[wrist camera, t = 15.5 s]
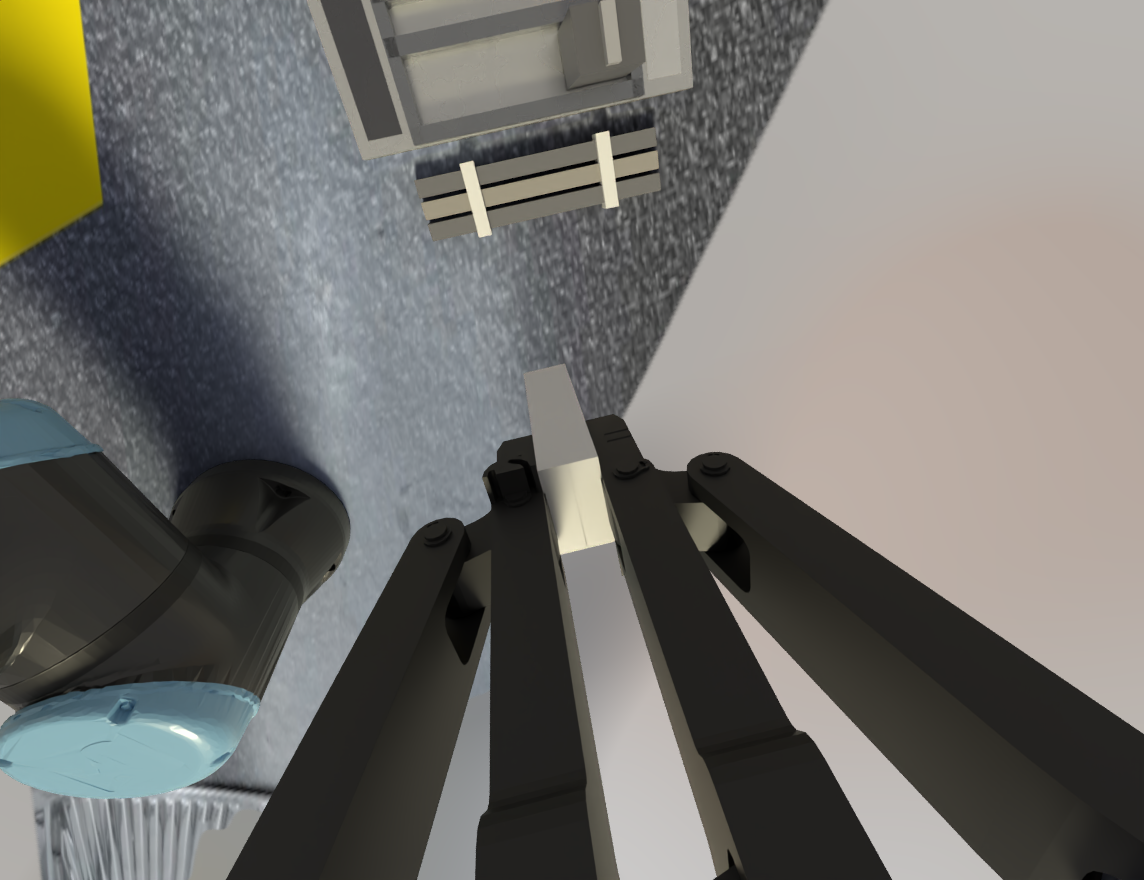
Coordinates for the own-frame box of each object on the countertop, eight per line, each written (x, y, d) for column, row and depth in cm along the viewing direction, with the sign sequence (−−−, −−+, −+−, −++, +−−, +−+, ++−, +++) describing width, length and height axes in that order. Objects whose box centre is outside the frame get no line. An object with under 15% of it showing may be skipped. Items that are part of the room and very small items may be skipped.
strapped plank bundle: (436, 244, 39) (434, 247, 38) (414, 174, 37) (411, 174, 35) (657, 194, 40) (662, 195, 38) (650, 122, 37) (656, 120, 36)
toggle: (567, 90, 34) (581, 73, 28) (557, 32, 33) (571, 2, 27) (622, 78, 34) (649, 59, 29) (616, 19, 33) (642, -13, 27)
